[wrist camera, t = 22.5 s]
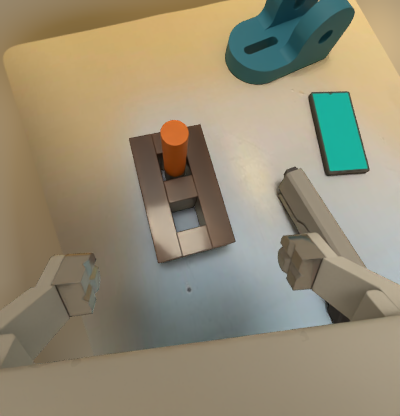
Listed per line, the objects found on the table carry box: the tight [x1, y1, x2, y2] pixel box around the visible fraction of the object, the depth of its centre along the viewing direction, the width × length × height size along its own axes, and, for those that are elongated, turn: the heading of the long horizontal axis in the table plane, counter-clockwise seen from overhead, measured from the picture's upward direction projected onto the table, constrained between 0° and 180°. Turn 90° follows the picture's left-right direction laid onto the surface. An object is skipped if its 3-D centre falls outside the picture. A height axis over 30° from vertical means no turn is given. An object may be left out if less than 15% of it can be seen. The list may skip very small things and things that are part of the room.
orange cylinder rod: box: [160, 120, 189, 181], centre depth 31 cm, size 3×3×14 cm
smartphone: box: [309, 91, 369, 176], centre depth 42 cm, size 7×1×15 cm
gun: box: [279, 167, 367, 324], centre depth 34 cm, size 2×25×10 cm, turn 20°
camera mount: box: [225, 0, 355, 84], centre depth 40 cm, size 18×10×10 cm, turn 119°
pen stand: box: [129, 124, 235, 263], centre depth 35 cm, size 10×17×6 cm, turn 16°
